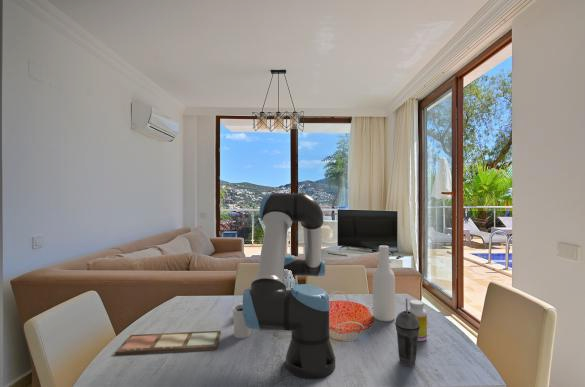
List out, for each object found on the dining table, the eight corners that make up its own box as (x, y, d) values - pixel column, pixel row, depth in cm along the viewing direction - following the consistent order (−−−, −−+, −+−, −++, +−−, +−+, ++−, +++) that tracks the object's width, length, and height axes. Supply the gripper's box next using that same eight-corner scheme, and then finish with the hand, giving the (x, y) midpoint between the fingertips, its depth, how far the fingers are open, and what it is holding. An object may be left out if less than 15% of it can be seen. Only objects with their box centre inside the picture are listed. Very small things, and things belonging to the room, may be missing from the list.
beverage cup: (422, 360, 97) (422, 296, 97) (417, 371, 91) (417, 303, 91) (398, 353, 101) (398, 292, 101) (392, 364, 95) (392, 298, 95)
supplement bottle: (429, 337, 112) (429, 301, 112) (422, 343, 107) (422, 306, 107) (411, 331, 117) (411, 297, 116) (403, 337, 112) (403, 302, 112)
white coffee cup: (231, 332, 116) (230, 306, 116) (248, 329, 119) (248, 303, 119) (235, 340, 110) (235, 312, 110) (253, 336, 113) (253, 309, 113)
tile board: (216, 349, 104) (216, 346, 104) (115, 355, 100) (115, 351, 100) (220, 333, 116) (220, 330, 116) (130, 337, 112) (130, 334, 112)
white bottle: (399, 318, 128) (399, 246, 128) (385, 324, 123) (385, 248, 123) (382, 312, 135) (382, 243, 135) (368, 316, 130) (368, 245, 130)
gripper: (303, 306, 137) (282, 325, 117) (254, 298, 147) (228, 314, 128) (303, 289, 137) (282, 305, 117) (254, 282, 147) (228, 296, 127)
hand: (254, 310), depth 122 cm, fingers open, 13 cm apart
